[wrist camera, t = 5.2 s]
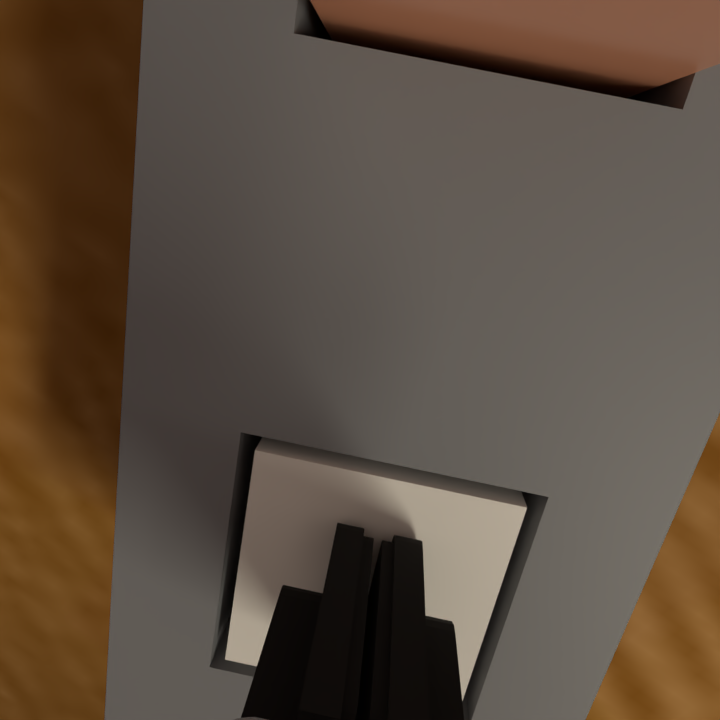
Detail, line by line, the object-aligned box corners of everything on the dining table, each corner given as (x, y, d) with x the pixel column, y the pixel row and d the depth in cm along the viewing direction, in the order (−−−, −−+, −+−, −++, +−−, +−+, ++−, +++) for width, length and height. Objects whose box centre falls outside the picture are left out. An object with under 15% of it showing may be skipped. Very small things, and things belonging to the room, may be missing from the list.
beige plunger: (442, 534, 17) (459, 710, 12) (285, 501, 17) (224, 659, 12) (484, 388, 16) (527, 507, 10) (310, 352, 16) (254, 450, 10)
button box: (500, 615, 18) (543, 817, 12) (199, 550, 18) (104, 719, 12) (797, -258, 11) (1217, -728, 5) (302, -348, 11) (191, -897, 5)
